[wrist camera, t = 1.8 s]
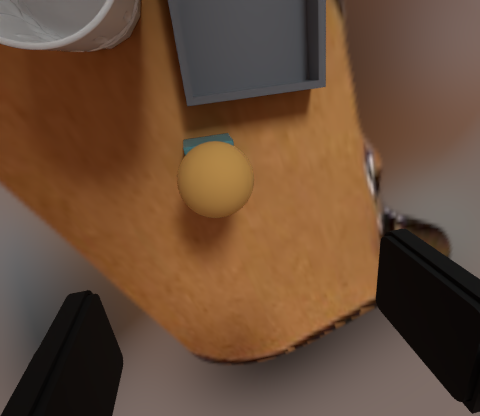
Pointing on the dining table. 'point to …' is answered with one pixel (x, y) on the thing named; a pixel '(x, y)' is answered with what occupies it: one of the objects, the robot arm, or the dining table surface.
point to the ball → (215, 179)
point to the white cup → (67, 24)
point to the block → (194, 142)
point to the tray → (249, 47)
